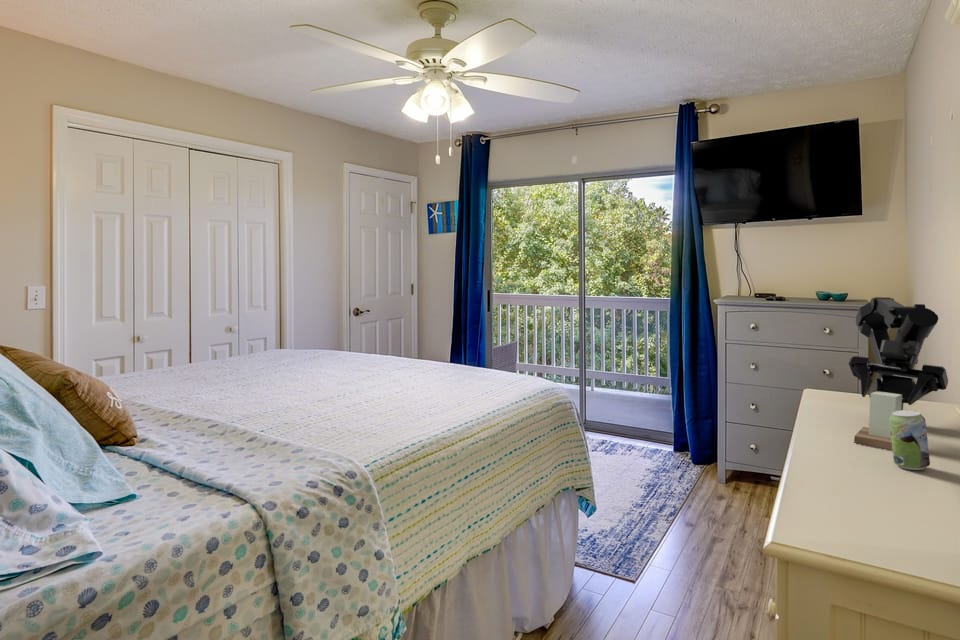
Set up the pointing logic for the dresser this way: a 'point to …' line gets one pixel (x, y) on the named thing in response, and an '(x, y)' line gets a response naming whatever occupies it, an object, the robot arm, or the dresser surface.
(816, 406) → the dresser surface
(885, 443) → the walnut block
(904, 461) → the beverage can
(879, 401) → the sage block
